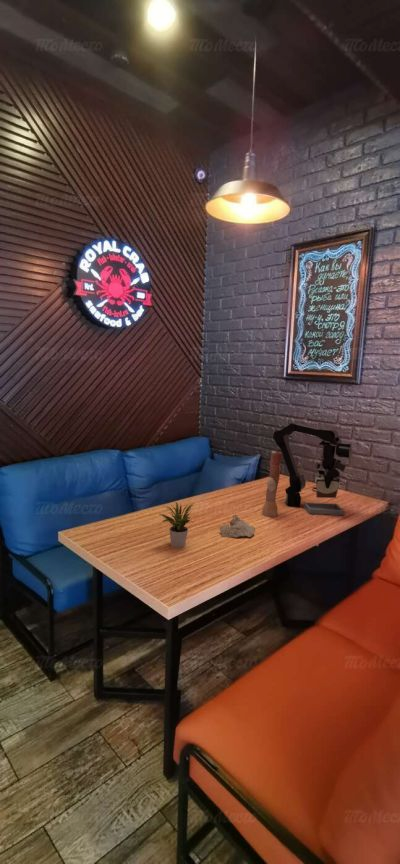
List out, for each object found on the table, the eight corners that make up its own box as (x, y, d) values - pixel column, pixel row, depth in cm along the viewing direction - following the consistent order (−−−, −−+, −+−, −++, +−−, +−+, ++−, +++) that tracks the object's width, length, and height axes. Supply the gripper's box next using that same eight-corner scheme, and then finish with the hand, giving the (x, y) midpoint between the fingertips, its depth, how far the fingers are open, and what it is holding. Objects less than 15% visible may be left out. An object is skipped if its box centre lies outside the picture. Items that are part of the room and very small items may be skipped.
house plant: (178, 533, 170) (180, 493, 168) (205, 543, 161) (207, 501, 159) (152, 543, 159) (154, 501, 157) (180, 554, 150) (182, 510, 148)
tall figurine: (270, 518, 194) (275, 453, 190) (257, 514, 199) (262, 450, 195) (283, 513, 201) (288, 451, 197) (271, 509, 206) (275, 448, 202)
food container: (334, 492, 211) (337, 473, 208) (339, 498, 205) (341, 478, 202) (310, 492, 211) (312, 473, 208) (313, 497, 205) (315, 478, 202)
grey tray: (309, 514, 202) (309, 509, 202) (303, 507, 213) (303, 502, 212) (343, 515, 203) (344, 510, 202) (336, 508, 213) (336, 503, 213)
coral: (224, 541, 165) (225, 529, 164) (210, 527, 180) (211, 515, 179) (265, 537, 171) (266, 525, 170) (248, 524, 186) (249, 513, 185)
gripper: (352, 459, 195) (349, 492, 197) (338, 452, 213) (335, 482, 216) (328, 458, 195) (325, 491, 197) (316, 451, 213) (313, 481, 215)
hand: (325, 486), depth 206 cm, fingers closed on food container, 6 cm apart
